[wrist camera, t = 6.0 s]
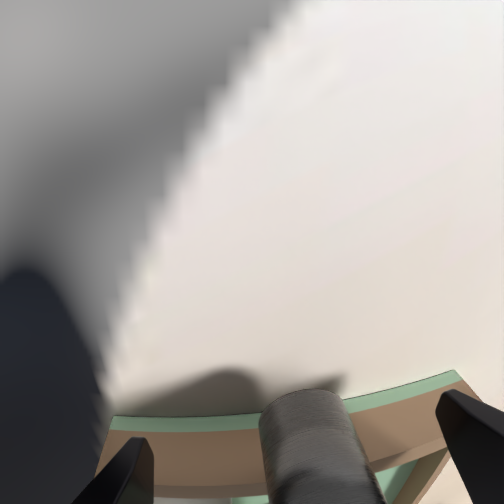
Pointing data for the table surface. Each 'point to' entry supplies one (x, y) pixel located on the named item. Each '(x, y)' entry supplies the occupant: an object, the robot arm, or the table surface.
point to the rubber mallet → (315, 452)
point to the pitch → (250, 455)
